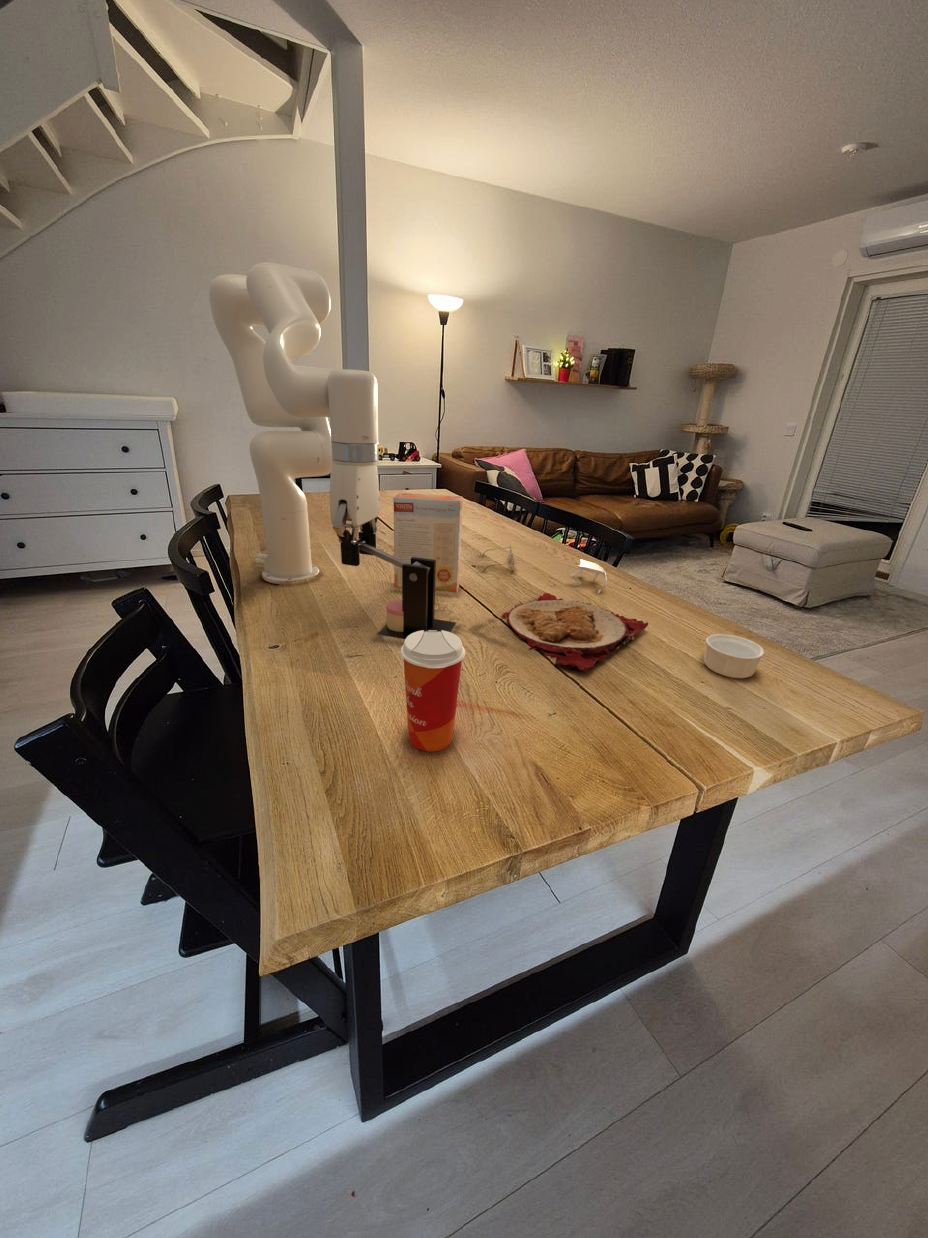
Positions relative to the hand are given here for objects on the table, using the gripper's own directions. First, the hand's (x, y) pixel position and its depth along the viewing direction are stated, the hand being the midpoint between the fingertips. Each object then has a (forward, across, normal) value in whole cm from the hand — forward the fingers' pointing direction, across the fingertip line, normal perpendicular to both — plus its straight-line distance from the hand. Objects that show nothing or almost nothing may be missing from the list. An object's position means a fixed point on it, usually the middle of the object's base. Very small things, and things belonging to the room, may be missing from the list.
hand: (359, 558), depth 89 cm
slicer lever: (0, 0, +6) cm, 6 cm away
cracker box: (+13, -22, +5) cm, 26 cm away
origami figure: (+13, -39, +40) cm, 58 cm away
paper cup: (+13, +28, +23) cm, 39 cm away
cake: (+12, 0, +8) cm, 14 cm away
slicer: (+13, 0, +11) cm, 17 cm away
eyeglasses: (+13, -46, +16) cm, 51 cm away
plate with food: (+13, -11, +36) cm, 40 cm away
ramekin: (+13, -7, +65) cm, 67 cm away
